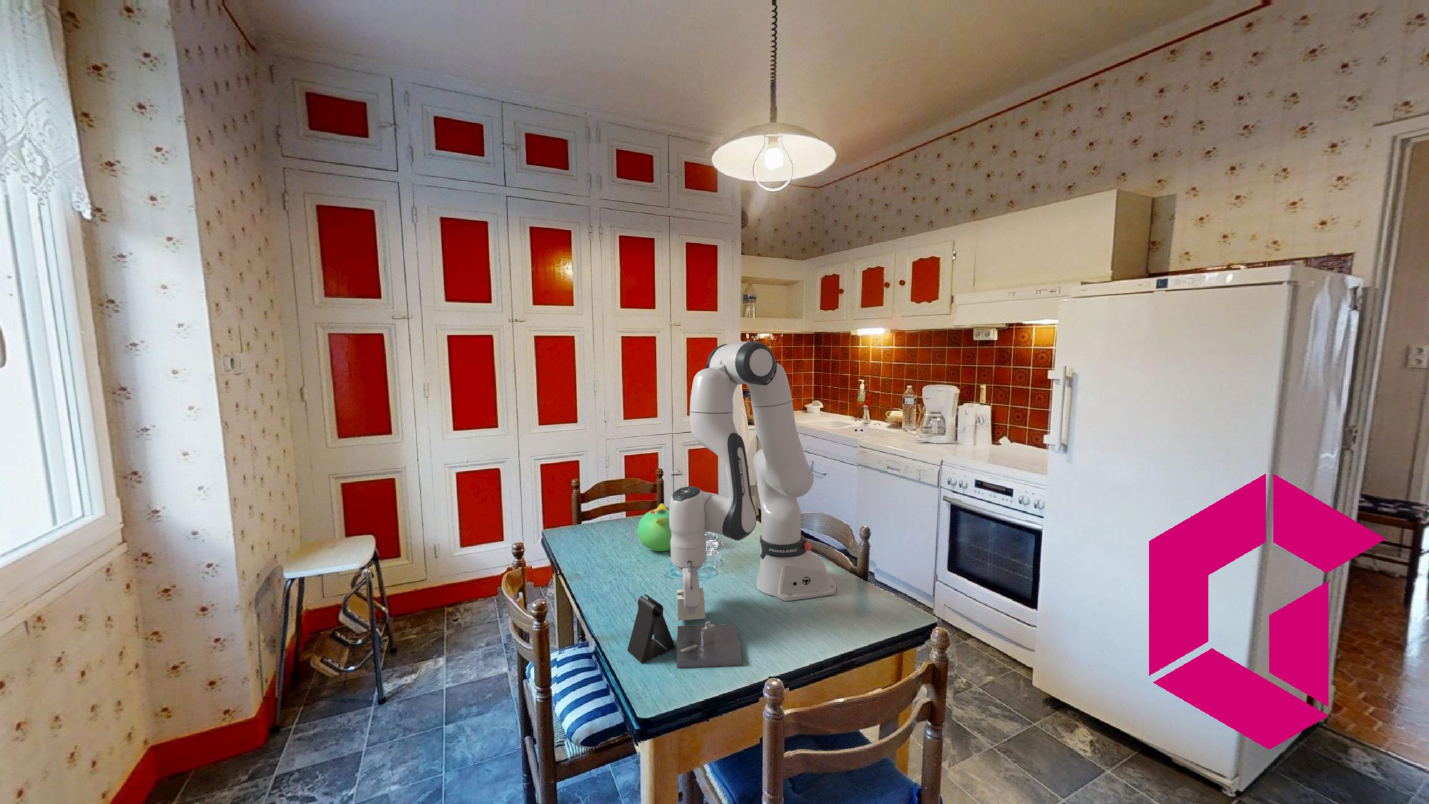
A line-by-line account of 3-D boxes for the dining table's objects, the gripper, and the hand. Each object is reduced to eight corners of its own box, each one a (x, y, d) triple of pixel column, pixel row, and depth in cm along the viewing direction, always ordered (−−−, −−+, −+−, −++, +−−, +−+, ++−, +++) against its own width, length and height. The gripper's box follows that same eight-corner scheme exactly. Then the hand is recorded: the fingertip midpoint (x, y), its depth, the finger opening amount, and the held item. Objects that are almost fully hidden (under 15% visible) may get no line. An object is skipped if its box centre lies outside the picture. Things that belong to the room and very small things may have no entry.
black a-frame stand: (660, 636, 122) (659, 588, 121) (675, 648, 118) (674, 598, 116) (627, 651, 117) (625, 600, 115) (641, 664, 112) (639, 611, 111)
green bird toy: (675, 535, 187) (674, 496, 185) (701, 550, 173) (700, 507, 171) (630, 547, 176) (628, 505, 175) (654, 564, 163) (652, 519, 161)
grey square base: (735, 629, 125) (735, 605, 124) (741, 665, 111) (741, 638, 111) (677, 631, 124) (677, 607, 124) (676, 668, 111) (676, 640, 110)
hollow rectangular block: (703, 608, 132) (702, 586, 132) (705, 618, 128) (704, 596, 127) (677, 610, 132) (676, 588, 131) (678, 620, 127) (677, 598, 126)
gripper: (704, 570, 118) (707, 627, 120) (698, 537, 138) (700, 586, 140) (677, 573, 117) (679, 630, 119) (674, 538, 137) (677, 588, 139)
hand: (690, 606), depth 129 cm, fingers closed on hollow rectangular block, 5 cm apart
